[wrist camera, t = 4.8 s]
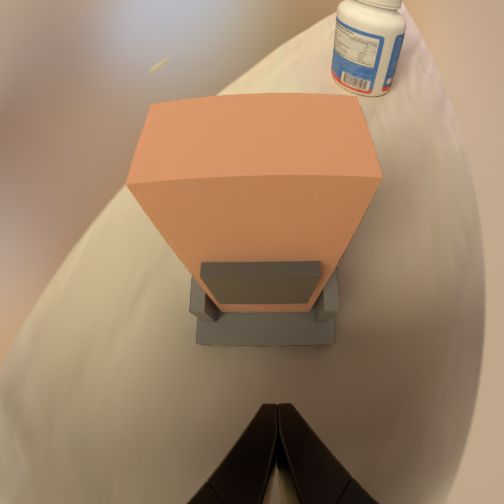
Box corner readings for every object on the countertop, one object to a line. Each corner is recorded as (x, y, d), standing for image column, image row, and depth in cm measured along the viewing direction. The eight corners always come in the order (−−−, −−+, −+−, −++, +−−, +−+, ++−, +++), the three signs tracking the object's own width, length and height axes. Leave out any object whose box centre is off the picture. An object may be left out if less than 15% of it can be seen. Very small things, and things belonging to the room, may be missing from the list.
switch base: (331, 344, 14) (368, 325, 8) (200, 344, 14) (157, 326, 9) (317, 174, 18) (330, 99, 12) (212, 176, 18) (192, 103, 13)
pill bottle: (369, 64, 23) (385, -21, 14) (400, 96, 21) (429, 3, 12) (319, 67, 22) (326, -28, 14) (347, 101, 20) (367, -8, 11)
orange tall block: (309, 320, 13) (388, 199, 4) (221, 320, 13) (119, 205, 4) (307, 270, 14) (356, 96, 5) (223, 271, 14) (151, 104, 5)
